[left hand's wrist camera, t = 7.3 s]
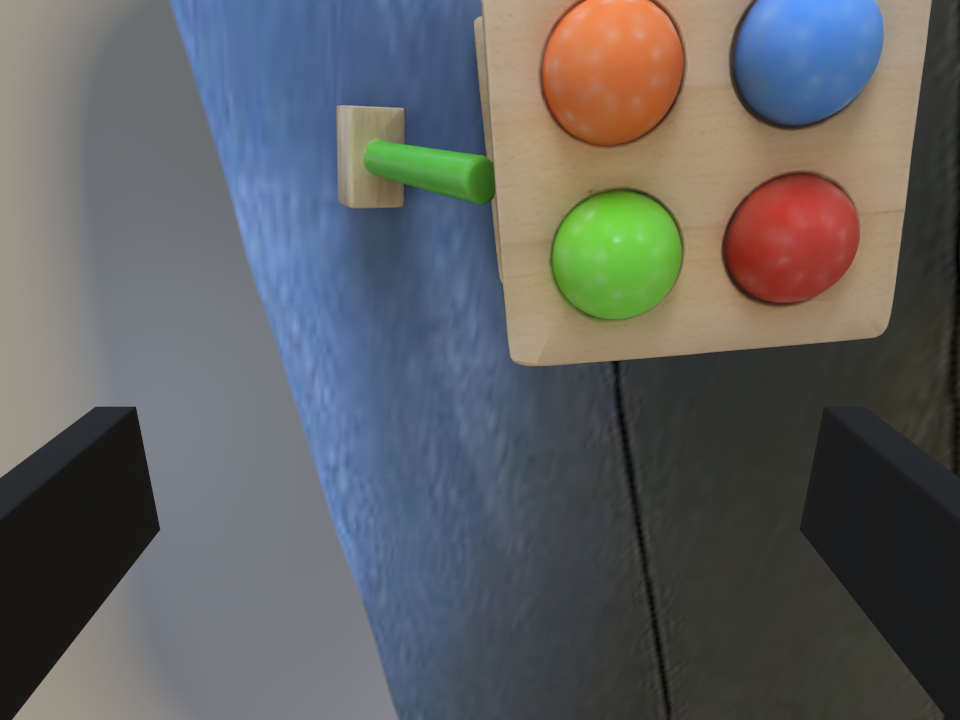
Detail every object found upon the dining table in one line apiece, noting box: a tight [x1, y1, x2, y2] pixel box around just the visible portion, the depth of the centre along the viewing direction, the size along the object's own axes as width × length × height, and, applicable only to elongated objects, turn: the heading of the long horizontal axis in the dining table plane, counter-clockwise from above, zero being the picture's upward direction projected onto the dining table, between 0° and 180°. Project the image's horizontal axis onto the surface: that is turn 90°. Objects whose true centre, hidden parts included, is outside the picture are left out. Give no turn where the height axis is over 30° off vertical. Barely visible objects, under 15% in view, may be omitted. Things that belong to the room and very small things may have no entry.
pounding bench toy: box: [337, 0, 932, 366], centre depth 29 cm, size 23×14×18 cm, turn 95°
